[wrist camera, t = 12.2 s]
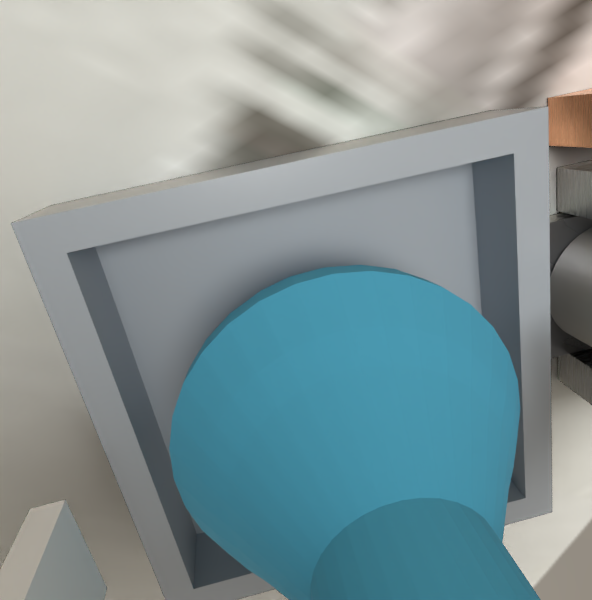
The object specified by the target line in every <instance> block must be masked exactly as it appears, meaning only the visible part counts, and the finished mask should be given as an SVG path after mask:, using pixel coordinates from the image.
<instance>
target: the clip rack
mask: <svg viewBox="0 0 592 600" xmlns="http://www.w3.org/2000/svg"><path fill="white" fill-rule="evenodd" d="M548 114H549V146H567V147H587V148H592V89H587V90H582V91H578V92H573V93H568V94H564V95H559V96H554V97H550V98H548ZM557 211H559V212H563V213H559V214H554V215H550V216H549V220H550V277H551V274H552V271H553V269H554V267H555V264H556V263H557V261H558V259H559V257H560V256H561V254H562V253H563V252H564V250H565V249H566V248H567V247H568V245H569V244H570V243H571V242H572V241H573V240H574V239H575V238H576V237H578V236H579V235H580V234H582V233H583V232H584V231H586V230H588V229H589V228H591V227H592V160H589V161H585V162H581V163H576V164H572V165H567V166H563V167H559V168H557ZM550 325H551V358H555V357H558V380H559V381H560V382H562V383H563V384H564V385H566V386H567V387H568V388H570V389H571V390H572V391H574V392H575V393H576V394H578V395H579V396H581V397H582V398H583V399H585V400H586V401H587V402H589V403H590V404H591V405H592V347H591V346H589V345H587V344H586V343H584V342H582V341H580V340H578V339H577V338H575V337H573V336H571V335H569V334H568V333H566V332H564V331H563V330H562V329H561V328H560V327H559V326H558V325H557V324H556V323H555V321H554V319H553V317H552V315H551V312H550Z"/></svg>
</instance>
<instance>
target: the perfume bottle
mask: <svg viewBox="0 0 592 600" xmlns="http://www.w3.org/2000/svg"><path fill="white" fill-rule="evenodd" d="M519 417H520V399H519V387H518V379H517V376H516V373H515V370H514V366H513V363H512V360H511V357H510V354H509V352H508V350H507V348H506V347H505V345H504V343H503V342H502V340H501V339H500V337H499V335H498V334H497V332H496V330H495V329H494V327H493V326H492V325H491V324H490V323H489V322H488V321H487V320H486V319H485V318H484V317H483V316H482V315H481V314H480V313H479V312H478V311H477V310H476V309H475V308H474V307H473V306H472V305H471V304H469V303H468V302H466V301H464V300H463V299H461V298H460V297H458V296H456V295H455V294H453V293H451V292H450V291H448V290H446V289H445V288H443V287H441V286H439V285H437V284H435V283H433V282H430V281H428V280H426V279H423V278H420V277H417V276H414V275H411V274H408V273H406V272H403V271H400V270H397V269H392V268H384V267H376V266H368V265H350V266H336V267H324V268H320V269H316V270H312V271H308V272H305V273H301V274H297V275H294V276H290V277H288V278H286V279H283V280H281V281H279V282H277V283H275V284H273V285H271V286H269V287H267V288H265V289H263V290H261V291H260V292H258V293H257V294H255V295H254V296H253V297H251V298H250V299H249V300H247V301H246V302H245V303H243V304H242V305H241V306H239V307H238V308H237V309H235V310H234V311H233V312H231V313H230V314H229V315H228V316H227V317H226V318H225V319H224V320H223V321H222V323H221V324H220V325H219V326H218V327H217V328H216V329H215V330H214V331H213V332H212V334H211V335H210V336H209V337H208V338H207V339H206V340H205V342H204V344H203V346H202V347H201V349H200V351H199V352H198V354H197V356H196V357H195V359H194V361H193V362H192V364H191V366H190V368H189V370H188V372H187V375H186V378H185V380H184V383H183V385H182V388H181V391H180V394H179V397H178V400H177V404H176V407H175V410H174V413H173V416H172V424H171V435H170V446H169V450H170V457H171V464H172V471H173V477H174V481H175V483H176V486H177V488H178V491H179V493H180V496H181V498H182V500H183V503H184V505H185V507H186V509H187V510H188V511H189V513H190V514H191V516H192V517H193V518H194V520H195V521H196V523H197V524H198V525H199V527H200V528H201V530H202V531H203V532H205V533H206V534H207V535H208V536H209V537H210V538H211V539H212V540H213V541H215V542H216V543H217V544H218V545H219V546H220V547H221V548H222V549H224V550H225V551H226V552H227V553H228V554H230V555H231V556H232V557H233V558H234V559H236V560H237V561H238V562H239V563H240V564H242V565H243V566H244V567H245V568H246V569H248V570H249V571H251V572H252V573H254V574H255V575H257V576H258V577H260V578H261V579H263V580H265V581H266V582H268V583H269V584H270V585H271V586H273V587H274V588H275V589H276V590H278V591H279V592H280V593H281V594H283V595H284V596H285V597H286V598H288V599H289V600H540V598H539V597H538V595H537V594H536V592H535V591H534V589H533V588H532V586H531V585H530V583H529V582H528V580H527V579H526V577H525V576H524V574H523V573H522V572H521V570H520V569H519V567H518V566H517V564H516V563H515V561H514V560H513V558H512V557H511V555H510V554H509V552H508V551H507V549H506V548H505V546H504V545H503V543H502V540H503V532H504V524H505V516H506V508H507V500H508V492H509V486H510V481H511V477H512V473H513V468H514V460H515V453H516V445H517V436H518V427H519Z"/></svg>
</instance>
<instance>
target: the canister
mask: <svg viewBox="0 0 592 600" xmlns="http://www.w3.org/2000/svg"><path fill="white" fill-rule="evenodd" d="M550 312H551V315H552V317H553V319H554V321H555V323H556V324H557V325H558V326H559V327H560V328H561V329H562V330H563V331H564V332H566V333H568V334H569V335H571V336H573V337H575V338H577V339H578V340H580V341H582V342H584V343H586V344H587V345H589V346H591V347H592V227H591V228H589V229H588V230H586V231H584V232H583V233H582V234H580V235H579V236H578V237H576V238H575V239H574V240H573V241H572V242H571V243H570V244H569V245H568V247H567V248H566V249H565V250H564V252H563V253H562V254H561V256H560V257H559V259H558V261H557V263H556V264H555V267H554V269H553V271H552V274H551V277H550Z"/></svg>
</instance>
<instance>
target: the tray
mask: <svg viewBox="0 0 592 600" xmlns="http://www.w3.org/2000/svg"><path fill="white" fill-rule="evenodd" d="M11 225H12V227H13V230H14V232H15V235H16V237H17V240H18V242H19V244H20V247H21V249H22V252H23V254H24V257H25V259H26V261H27V264H28V266H29V269H30V271H31V274H32V276H33V278H34V281H35V283H36V286H37V288H38V291H39V293H40V296H41V298H42V300H43V303H44V305H45V308H46V310H47V313H48V315H49V317H50V320H51V322H52V325H53V327H54V330H55V332H56V334H57V337H58V339H59V342H60V344H61V347H62V349H63V352H64V354H65V356H66V359H67V361H68V364H69V366H70V369H71V371H72V373H73V376H74V378H75V381H76V383H77V386H78V388H79V390H80V393H81V395H82V398H83V400H84V403H85V405H86V408H87V410H88V412H89V415H90V417H91V420H92V422H93V425H94V427H95V429H96V432H97V434H98V437H99V439H100V442H101V444H102V446H103V449H104V451H105V454H106V456H107V459H108V461H109V464H110V466H111V468H112V471H113V473H114V476H115V478H116V481H117V483H118V485H119V488H120V490H121V493H122V495H123V498H124V500H125V502H126V505H127V507H128V510H129V512H130V515H131V517H132V520H133V522H134V524H135V527H136V529H137V532H138V534H139V537H140V539H141V541H142V544H143V546H144V549H145V551H146V554H147V556H148V559H149V561H150V563H151V566H152V568H153V571H154V573H155V576H156V578H157V580H158V583H159V585H160V588H161V590H162V593H163V595H164V597H165V600H238V599H241V598H245V597H248V596H252V595H256V594H259V593H263V592H266V591H270V590H274V589H275V588H274V587H273V586H271V585H270V584H269V583H268V582H266V581H265V580H263V579H261V578H260V577H258V576H257V575H255V574H254V573H252V572H251V571H249V570H248V569H246V568H245V567H244V566H243V565H242V564H240V563H239V562H238V561H237V560H236V559H234V558H233V557H232V556H231V555H230V554H228V553H227V552H226V551H225V550H224V549H222V548H221V547H220V546H219V545H218V544H217V543H216V542H215V541H213V540H212V539H211V538H210V537H209V536H208V535H207V534H206V533H205V532H203V531H202V530H201V528H200V527H199V525H198V524H197V523H196V521H195V520H194V518H193V517H192V516H191V514H190V513H189V511H188V510H187V509H186V507H185V505H184V503H183V500H182V498H181V496H180V493H179V491H178V488H177V486H176V483H175V481H174V477H173V471H172V464H171V457H170V450H169V446H170V435H171V424H172V416H173V413H174V410H175V407H176V404H177V400H178V397H179V394H180V391H181V388H182V385H183V383H184V380H185V378H186V375H187V372H188V370H189V368H190V366H191V364H192V362H193V361H194V359H195V357H196V356H197V354H198V352H199V351H200V349H201V347H202V346H203V344H204V342H205V340H206V339H207V338H208V337H209V336H210V335H211V334H212V332H213V331H214V330H215V329H216V328H217V327H218V326H219V325H220V324H221V323H222V321H223V320H224V319H225V318H226V317H227V316H228V315H229V314H230V313H231V312H233V311H234V310H235V309H237V308H238V307H239V306H241V305H242V304H243V303H245V302H246V301H247V300H249V299H250V298H251V297H253V296H254V295H255V294H257V293H258V292H260V291H261V290H263V289H265V288H267V287H269V286H271V285H273V284H275V283H277V282H279V281H281V280H283V279H286V278H288V277H290V276H294V275H297V274H301V273H305V272H308V271H312V270H316V269H320V268H324V267H336V266H350V265H368V266H376V267H384V268H392V269H397V270H400V271H403V272H406V273H408V274H411V275H414V276H417V277H420V278H423V279H426V280H428V281H430V282H433V283H435V284H437V285H439V286H441V287H443V288H445V289H446V290H448V291H450V292H451V293H453V294H455V295H456V296H458V297H460V298H461V299H463V300H464V301H466V302H468V303H469V304H471V305H472V306H473V307H474V308H475V309H476V310H477V311H478V312H479V313H480V314H481V315H482V316H483V317H484V318H485V319H486V320H487V321H488V322H489V323H490V324H491V325H492V326H493V327H494V329H495V330H496V332H497V334H498V335H499V337H500V339H501V340H502V342H503V343H504V345H505V347H506V348H507V350H508V352H509V354H510V357H511V360H512V363H513V366H514V370H515V373H516V376H517V379H518V387H519V399H520V417H519V427H518V436H517V445H516V453H515V460H514V468H513V473H512V477H511V481H510V486H509V492H508V500H507V508H506V516H505V524H504V525H508V524H511V523H515V522H519V521H522V520H526V519H529V518H533V517H537V516H540V515H544V514H547V513H551V512H552V430H551V325H550V220H549V114H548V106H547V107H533V108H518V109H504V110H490V111H485V112H480V113H476V114H471V115H466V116H462V117H457V118H453V119H448V120H443V121H439V122H434V123H429V124H425V125H420V126H416V127H411V128H406V129H402V130H397V131H392V132H388V133H383V134H378V135H374V136H369V137H365V138H360V139H355V140H351V141H346V142H341V143H337V144H332V145H328V146H323V147H318V148H314V149H309V150H304V151H300V152H295V153H290V154H286V155H281V156H277V157H272V158H267V159H263V160H258V161H253V162H249V163H244V164H240V165H235V166H230V167H226V168H221V169H216V170H212V171H207V172H202V173H198V174H193V175H189V176H184V177H179V178H175V179H170V180H165V181H161V182H156V183H151V184H147V185H142V186H138V187H133V188H128V189H124V190H119V191H114V192H110V193H105V194H101V195H96V196H91V197H87V198H82V199H77V200H73V201H68V202H63V203H59V204H54V205H50V206H48V207H46V208H44V209H41V210H39V211H37V212H35V213H32V214H30V215H28V216H26V217H24V218H21V219H19V220H17V221H15V222H12V223H11Z"/></svg>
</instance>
